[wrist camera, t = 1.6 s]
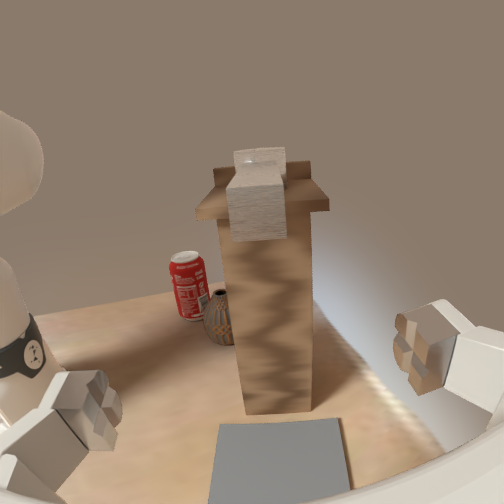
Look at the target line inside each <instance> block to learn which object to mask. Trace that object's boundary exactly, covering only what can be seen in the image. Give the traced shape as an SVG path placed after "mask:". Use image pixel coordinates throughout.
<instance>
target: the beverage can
mask: <svg viewBox="0 0 504 504" xmlns="http://www.w3.org/2000/svg"><path fill="white" fill-rule="evenodd" d="M171 260H172V261H171V263H170V265H169V270H170V275H171V279H172V284H173V288H174V293H175V298H176V302H177V307H178V311H179V314H180V316H181V317H183V318H185V319H186V320H189V321H198V320H201V319H203V316H204V310H205V308H206V306H207V304H208V302H209V301H210V296H209V290H208V284H207V278H206V272H205V266H204V261H203V259H202V258H201V257H200V256H199V253H198V252H195V251H184V252H180V253H177V254H175V255H173V256H172V258H171Z"/></svg>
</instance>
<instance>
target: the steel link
mask: <svg viewBox="0 0 504 504" xmlns="http://www.w3.org/2000/svg"><path fill="white" fill-rule="evenodd" d="M234 161H235V171H236V174H235V176H234V177H233V179H232V180H231V182H230V183H229V185H228V186H227V188H226V194H227V203H228V212H229V220H230V229H231V237H232V242H243V241H257V240H270V239H284V238H287V230H286V215H285V200H284V190H285V189H287V188H288V185H287V172H286V159H285V148H284V147H268V148H255V149H246V150H239V151H235V152H234Z"/></svg>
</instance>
